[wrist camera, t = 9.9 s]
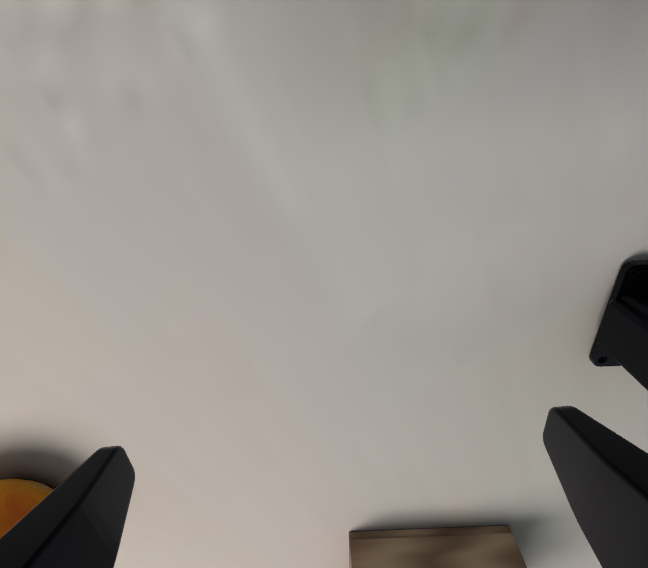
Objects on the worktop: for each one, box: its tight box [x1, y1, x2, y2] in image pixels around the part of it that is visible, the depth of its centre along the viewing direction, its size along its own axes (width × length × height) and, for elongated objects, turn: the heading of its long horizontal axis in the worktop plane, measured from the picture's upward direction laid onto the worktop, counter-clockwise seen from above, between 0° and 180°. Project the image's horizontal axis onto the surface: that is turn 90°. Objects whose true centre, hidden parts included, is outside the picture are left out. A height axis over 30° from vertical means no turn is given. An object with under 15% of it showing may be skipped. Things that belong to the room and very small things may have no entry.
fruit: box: [0, 479, 54, 538], centre depth 25 cm, size 8×8×8 cm
